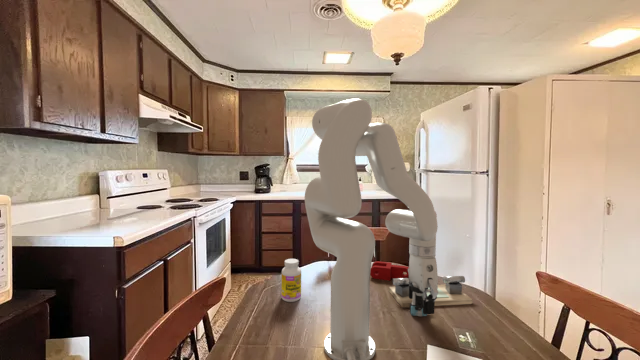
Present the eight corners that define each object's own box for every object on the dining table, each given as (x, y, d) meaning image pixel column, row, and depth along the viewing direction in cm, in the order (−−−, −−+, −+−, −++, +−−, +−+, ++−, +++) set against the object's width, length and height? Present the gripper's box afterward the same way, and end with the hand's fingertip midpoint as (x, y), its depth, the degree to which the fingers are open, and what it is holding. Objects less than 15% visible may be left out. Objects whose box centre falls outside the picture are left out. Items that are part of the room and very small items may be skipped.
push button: (429, 310, 89) (430, 278, 88) (434, 319, 83) (435, 286, 83) (407, 309, 89) (408, 278, 89) (411, 318, 84) (412, 285, 83)
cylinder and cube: (467, 294, 97) (467, 278, 96) (396, 297, 94) (396, 281, 94) (458, 288, 101) (459, 273, 101) (391, 291, 98) (391, 276, 98)
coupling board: (472, 303, 93) (472, 298, 93) (402, 307, 90) (402, 301, 90) (451, 288, 105) (451, 283, 105) (388, 290, 102) (388, 286, 102)
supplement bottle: (282, 303, 92) (282, 265, 92) (280, 294, 99) (280, 258, 98) (303, 301, 94) (303, 263, 93) (299, 292, 100) (299, 256, 100)
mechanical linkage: (369, 278, 114) (369, 266, 114) (372, 272, 121) (372, 260, 120) (411, 283, 109) (411, 271, 109) (411, 276, 116) (411, 264, 116)
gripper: (450, 258, 77) (448, 320, 78) (420, 241, 94) (419, 292, 95) (424, 259, 76) (422, 321, 77) (399, 242, 93) (398, 293, 94)
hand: (420, 305), depth 86 cm, fingers open, 9 cm apart
